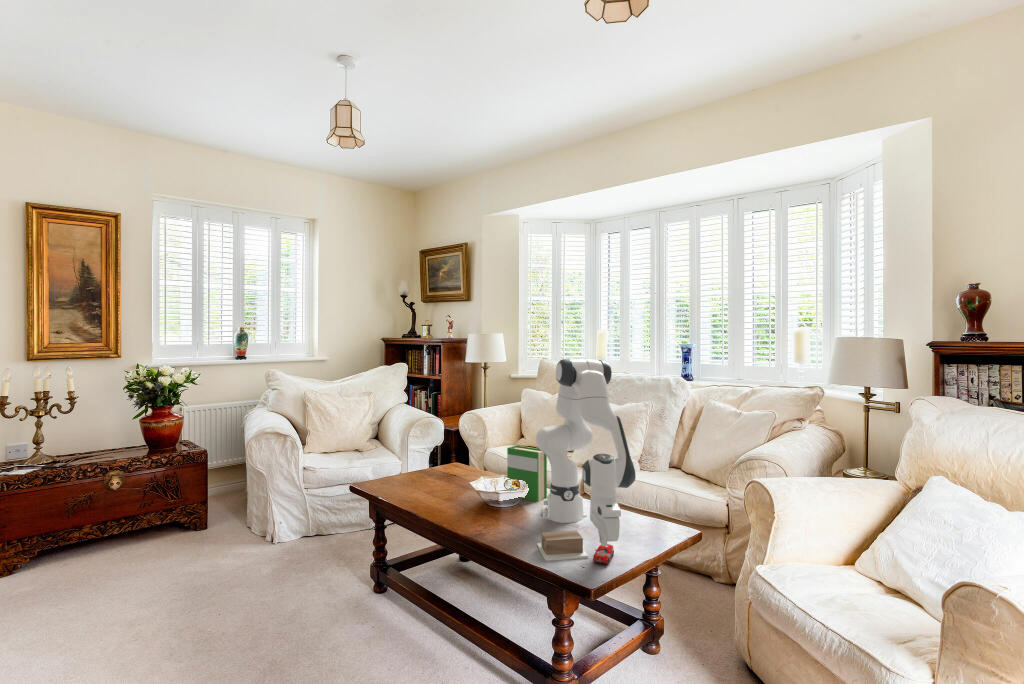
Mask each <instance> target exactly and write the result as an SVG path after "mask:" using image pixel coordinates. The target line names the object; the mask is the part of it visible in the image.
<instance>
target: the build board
mask: <svg viewBox="0 0 1024 684" xmlns="http://www.w3.org/2000/svg"><path fill="white" fill-rule="evenodd" d="M536 545H537V546H536V547H538V549H539V551H540V553H541V555H542V557H543V559H544V561H545V562H548V561H564V560H567V561H568V560H581V559H589V554H588V553H587V552H586V551H585V549H584V548H583V553H569V554H554V555H546V553H545V552H544V550H543V548H542V546H541V542H538V543H536Z"/></svg>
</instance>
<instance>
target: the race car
mask: <svg viewBox="0 0 1024 684" xmlns="http://www.w3.org/2000/svg"><path fill="white" fill-rule="evenodd" d="M594 551H595V552H594V554H593V556H592V557H593V558H592V561H593V562H594V563H598V564H607V565H609V563H610V561H611V559H612V557H614V555H615V554H614V553H615V550H614V545H613V544H609V543H607V546H602V544H601V543H600V545H598V548H596V549H594Z"/></svg>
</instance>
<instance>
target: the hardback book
mask: <svg viewBox="0 0 1024 684" xmlns="http://www.w3.org/2000/svg"><path fill="white" fill-rule="evenodd" d="M506 449H507V451H506V453H507V457H506V458H507V462H506V463H507V470H506V471H507V478H510V479H517V480H523V481H525V482H526V484H528V488H529V491H528V493H527V495H526V496H525V499H524V500H529V501H533V502H536V503H538V502H540V501H542V500H544V499H547V496H548V478H547V477H548V476H547V475H548V473H547V471H548V470H547V469H548V468H547V467H548V464H547V463H548V457H547V456H546V454H545V453H544V452H542V451H541V450H540V449H539V448H538V447H537V448H536V447H530V446H529V447H528V446H523V445H517V444H516V445H512V446H510V447H509V446H508V447H507V448H506Z"/></svg>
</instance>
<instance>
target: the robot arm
mask: <svg viewBox="0 0 1024 684" xmlns="http://www.w3.org/2000/svg"><path fill="white" fill-rule="evenodd" d="M612 372H613V371H612V367H611V365H610V363H609V362H607V361H606V360H601V359H598V360H597V359H591V358H573V359H570V358H563V359H561V360H559V361H558V362H557V363H556V367H555V378H556V381H557V382H558V384H559V388H558V393H557V400H556V405H555V409H556V412H557V414H558V415H559V416H560V417H561V418H563V419H564V422H563V424H555V425H549V426H545V427H542V428H540V429H539V430H538V431H537V433H536V434H535V435H536V436H535V443H536V446H537V449H540V450H541V451H542V452H544V453H545V454H546V456H547V460H548V461H549V464H550V471H551V483H550V487H549V488H550V489H549V494H547V498H546V499H545V498H544V499H543V505H542V507H541V511H542V513H541V514H542V519H544V520H548V521H549V520H550V521H552V522H556V523H561V524H562V523H563V524H570V523H571V524H572V523H577V522H579V521H582V520H583V519H584V518H587V515H588V514H587V513H586V512H584V500H583V496H582V495H580V484H579V467H578V465H577V464H576V462H575V461H574V460H571V459H570V458H569V456H568V452H571V451H579V450H582V449H585V448H588V447H589V446H591V444H592V442H593V438H594V437H593V431H592V429H591V428H590V426H589V425H587V424H586V422H587V423H588V424H590V425H592V426H595V427H597V428H599V429H602V430H604V431H607V432H608V433H609V434H610V436H611V437H612V441H613V444H614V449H615V452H616V456H617V458H615V457H614V456H613V455H610V454H608V453H597V454H594V456H592V458H590V459H587V460H586V461H585V462H584V463H583V464H582V481H583V483H584V484H586V485H587V486H588V487H590V488H591V491H590V497H589V498H590V502H589V503H590V504H589V506H590V507H589V508H590V510H589V520H590V522H591V523H592V524H593V526H594V527H595V528H596V529H597V533H598V536H599V539H598V540H599V543H600V545H601V544H602V546H607V544H608V542H618V541H619V539H620V525H621V524H620V517H621V516H622V510H621V508H620V505H619V502H618V492H617V488H620V489H621V488H622V489H628V488H630V486H632V485H633V484H634V483H635V481H636V475H637V473H636V468H635V466H634V462H633V460H632V456H631V454H630V450H629V449H630V448H629V446H628V441H627V438H626V434H625V430H624V426H623V424H622V420H621V418H620V416H619V414H617V413H615V412H614V411H613V409H612V406H611V404H610V399H609V398H610V397H609V389H608V385H609V384H610V382H611V380H612V376H613V375H612Z"/></svg>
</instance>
